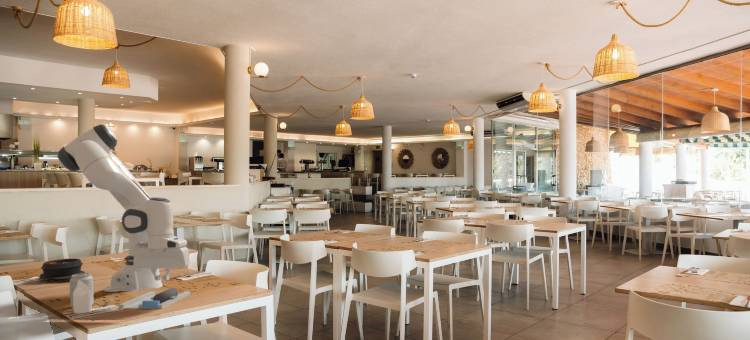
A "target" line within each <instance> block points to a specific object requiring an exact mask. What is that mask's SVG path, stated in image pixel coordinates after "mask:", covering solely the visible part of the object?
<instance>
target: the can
mask: <svg viewBox="0 0 750 340" xmlns="http://www.w3.org/2000/svg"><path fill="white" fill-rule="evenodd" d="M78 280H80V281H82V282H83V283H85V284H86V285H87V286H88V287H89V289H90V290H91V297H92V305H93V304H94V301H95V300H94V299H95V298H94V296H95V295H94V276H92V273H90V272H85V273H80V274H74V275H72V278H71V279H69V301H70V302H69V304H70V305H69V307H70V308H72V309H73V292H74V290H75V289H76V286H77V283H78Z"/></svg>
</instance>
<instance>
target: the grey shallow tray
mask: <svg viewBox="0 0 750 340" xmlns="http://www.w3.org/2000/svg"><path fill="white" fill-rule="evenodd" d="M155 293H156V292H155V291H149V292H146V293H144V294H142V295H139V296H137V297H135V298H132V299H130V300H127V301H124V302H123V303H120V304H119V305H118V306H119V307H118V308H119V309H144V310H145V309H147V310H148V309H150V310H151V309H154V310H155V309H156V310H158V309H161V310H162V309H164V308H167V307H168V306H170V305H173V304H174V303H176V302H178V301H180V300H182V299H185V298H186V297H189V296H190V295H191V292H190V291H188V290H187V291H184V292H182V293H180V294H178V296H172V297H170V299H169V300H167V301H165V302H163V303H161V304H160V301H153V298H154V296H155V295H156V294H155Z"/></svg>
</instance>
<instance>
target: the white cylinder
mask: <svg viewBox="0 0 750 340" xmlns="http://www.w3.org/2000/svg"><path fill="white" fill-rule="evenodd" d="M72 309H73V313H74V314H83V313H85V314H86V313H90V312H92V311H93V304H92V297H91V290H90V289H89V287H88V286H87V285H86V284H85V283H83V282H82V281H80V280H78V283H77V286H76V289H75V290H74V292H73V308H72Z"/></svg>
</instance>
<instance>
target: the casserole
mask: <svg viewBox="0 0 750 340" xmlns="http://www.w3.org/2000/svg"><path fill="white" fill-rule="evenodd" d="M83 264H84V263H83V262H82V260H81V259H80V258H62V259H61V258H60V259H55V260H49V261H44V262H43V263H42V266H41V267H40V269H41V270H42V272H43V273H40V274H39V277H38V279H41V280H47V281H49V280H53V281H52V282H59V281H58V280H63V281H68V280H67V279H69V280H70V279H71V278H72V275H74V274H80V273H86V272H85V271H84V270H82V266H83Z"/></svg>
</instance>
